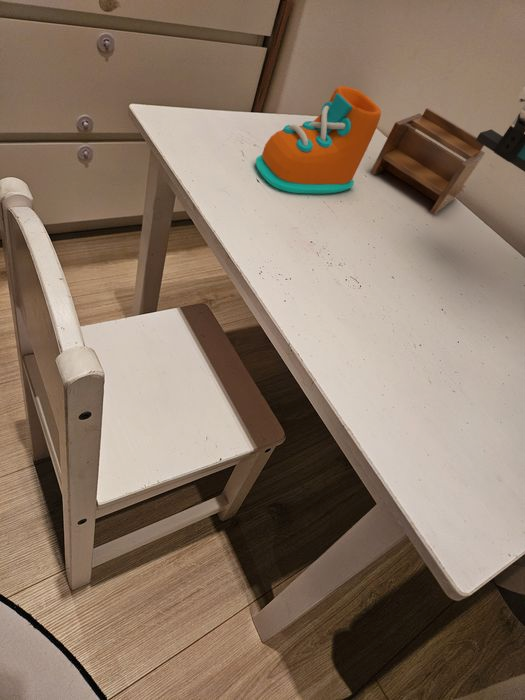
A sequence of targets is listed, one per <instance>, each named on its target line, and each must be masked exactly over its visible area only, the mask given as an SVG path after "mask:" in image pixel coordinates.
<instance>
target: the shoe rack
mask: <svg viewBox="0 0 525 700" xmlns="http://www.w3.org/2000/svg"><path fill="white" fill-rule="evenodd" d="M416 130H418V131H419V132H420V133H419V132H418V131H416ZM422 134H424V135H426V136H427V137H426V136H424V135H422ZM428 137H429V138H430V139H429V138H428ZM477 137H478V136H476V135H474V134H473V133H471V132H469V131H467V130H465V129H464V128H462V127H461V126H459V125H457V124H456V123H453V122H452V121H451V120H449V119H447V118H445V117H444V116H442V115H440V114H438V113H437V112H436V111H434V110H432V109H430V108H429V107H426V109H425V110H424V112H423V113H417V114H414V115H411V116H409V117H406V118H403V119H401V120H398V121H396V122H395V123H394V124H393V126H392V128H391V130H390V132H389V134H388V136H387V138H386V141H384V144H383V146H382V148H381V150H380V152H379V154H378V156H377V158H376V160H375V162H374V164H373V166H372V168H371V169H370V172H369V173H370V174H371V175H373V176H375V175H377V174H380V173H381V172H383V171H385V170H386V171H387V172H389V173H391V174H393V175H394V176H395V177H397V178H398V179H400V180H402V181H403V182H405V183H406V184H407V185H409V186H411V187H412V188H414V189H415V190H417V191H418V192H420V193H422V194H423V195H425V196H426V197H428V198H429V199H430V200H432V201H434V202H435V203H434V204H433V206H432V208H431V209H430V210H429V213H430V214H431V215H433V216H434V215H435V214H437V213H438V212H439V211H441V210H442V209H443V208H445V207H446V206H447V205H448V204H450V203H451V202H452V201H454V200H455V198H456V197H457V195H458V194H459V193H460V191H461V189H462V188H463V186H464V185H465V184H466V182H467V180H468V179H469V178H470V176H471V175H472V173H473V172H474V171H475V169H476V168H477V166H478V165H479V163H480V161H481V160H482V159H483V157H484V156H485V154H486V152H484V151H483V148H484V147H485V146H484V145H483V144H481V143H480V142H478V141H477V140H476V138H477ZM431 139H432V140H431ZM433 140H434V141H435V142H434V141H433ZM436 142H437V143H436ZM438 143H439V144H438ZM441 145H442V146H441ZM443 147H445V148H447V149H448V150H447V149H445V148H443ZM449 150H450V151H451V152H450V151H449ZM452 152H453V153H452ZM454 153H455V154H456V155H455V154H454ZM457 155H458V156H459V157H458V156H457ZM460 157H461V158H460ZM462 158H463V159H462Z"/></svg>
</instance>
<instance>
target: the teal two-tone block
mask: <svg viewBox="0 0 525 700" xmlns="http://www.w3.org/2000/svg"><path fill="white" fill-rule="evenodd" d="M503 136H504V135H501V134H500V133H498V132H497V131H495V130H494V129H492V128H491V129H488V130H484V131H481V132H480V133H479V134H478V135H477V136H476V137H477V138H476V140H477V141H478V142H480V143H481V144H483V145H484V147H486V148H487V149H489V150H490V151H492V152H493V153H494V149H495V147H496V146H497V144H498V143H499V141H500V140H501V139H502V137H503ZM509 163H510V164H512V165H513V166H515V167H516V168H518V169H519V170H521V171H522V172H524V173H525V145H524V146H523V148H522V149H521V151H520V152H519V153H518V155H517V156H516V157H515V159H514V160H513V161H511V162H509Z"/></svg>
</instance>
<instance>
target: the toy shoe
mask: <svg viewBox="0 0 525 700" xmlns="http://www.w3.org/2000/svg"><path fill="white" fill-rule="evenodd" d="M320 110H321V111H320V114H319V115H318V116H317V117H316V118H315V119H314V120H306V121H304V122H303V123H302V125H298V124H287V125H285V126H284V127H283V129H281V130H279V131H276V132H275V133H274V134H272V135H271V136H270V137H269V139H268V140H267V141H266V143H265V144H264V147H263V150H262V153H261V154H260V155H258V156H256V159H255V166H256V168H257V171H258V172H259V173H260V175H261V177H262V178H263V179H264V180H265V181H266V182H267V183H268V184H269V185H271V186H272V187H273V188H275V189H278V190H280V191H283V192H286V193H293V194H306V195H309V194H310V195H311V194H312V195H316V194H317V195H318V194H319V195H321V194H323V195H324V194H334V193H341V192H345V191H347V190H349V189H351V188H352V187H353V186H354V185H355V182H354V177H355V175H356V172H357V171H358V168H359V166H360V164H361V162H362V161H363V158H364V156H365V153H366V152H367V150H368V147H369V145H370V143H371V141H372V139H373V137H374V134H375V133H376V130H377V129H378V125H379V123H380V120H381V115H382V111H381V109H380V107H379V106H378V105H377V104H376V103H375V102H374V101H373V100H372V99H370V97H368V96H367V95H366V94H365V93H363V92H362V91H361V90H358V89H357V88H353V87H349V86H344V85H343V86H338V87H336V88H335V90H334V91H333V93H332V95H331V97H330V98H329V100H328V101H327V102H325V103H324V104H323V106H322V107H321V109H320Z"/></svg>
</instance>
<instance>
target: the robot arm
mask: <svg viewBox="0 0 525 700" xmlns="http://www.w3.org/2000/svg"><path fill="white" fill-rule="evenodd" d="M517 100H518V102H519V103H523V102H525V86H523V87H522V89H521V91H520V92H519V94H518V96H517ZM502 136H503V137H502V139H501V140H500V141H499V143H498V144H497V146H496V147H495V149H494V152H493V153H494V154H496V155H497V156H499V157H500V158H501V159H503V160H505V161H506V162H508V163H510V162H511V161H513V160H514V159H515V157H516V156H517V155H518V153H519V152H520V151H521V149H522V148H523V146H524V145H525V105H523V107H522V108H521V110H520V112H519V113H518V115H517V116H516V117H515V119H514V120H513V121H512V122H511V124H510V126H509V127H508V128H507V129H506V131H505V133H504V134H503V135H502Z"/></svg>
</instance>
